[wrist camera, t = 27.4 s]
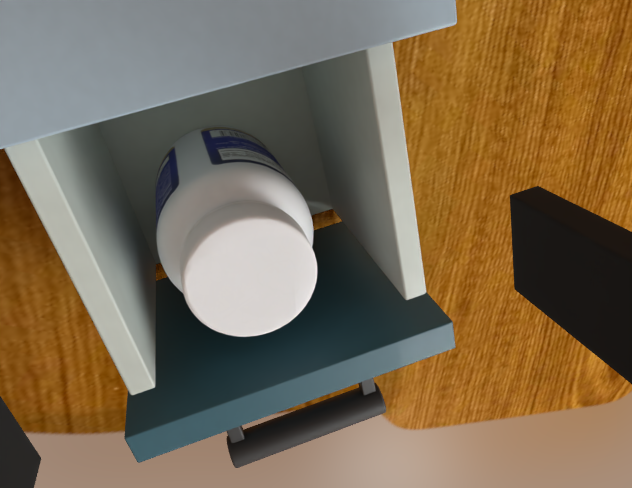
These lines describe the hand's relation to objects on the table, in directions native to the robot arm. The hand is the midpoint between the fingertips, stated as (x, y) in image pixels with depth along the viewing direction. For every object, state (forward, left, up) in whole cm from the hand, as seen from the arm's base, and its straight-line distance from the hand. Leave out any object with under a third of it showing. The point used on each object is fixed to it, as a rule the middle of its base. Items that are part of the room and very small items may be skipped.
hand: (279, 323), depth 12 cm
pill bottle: (0, -1, -12) cm, 12 cm away
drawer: (0, -2, -13) cm, 13 cm away
